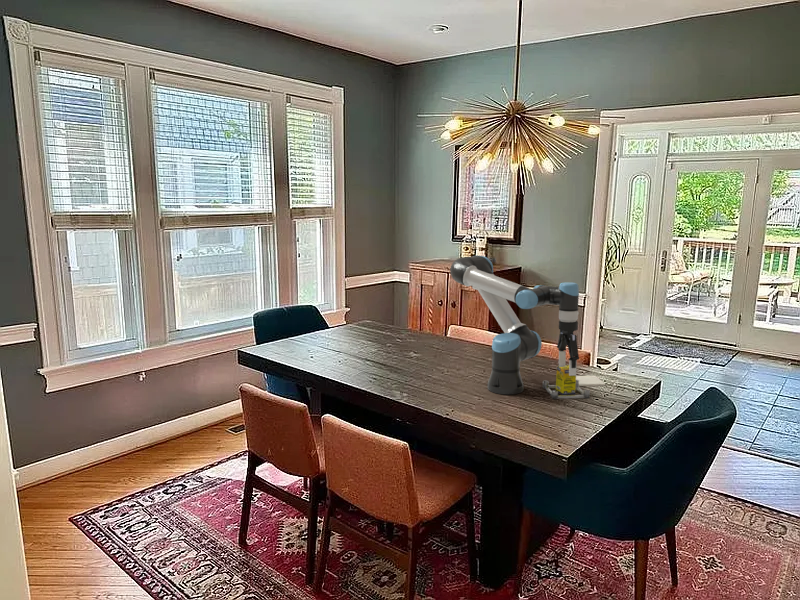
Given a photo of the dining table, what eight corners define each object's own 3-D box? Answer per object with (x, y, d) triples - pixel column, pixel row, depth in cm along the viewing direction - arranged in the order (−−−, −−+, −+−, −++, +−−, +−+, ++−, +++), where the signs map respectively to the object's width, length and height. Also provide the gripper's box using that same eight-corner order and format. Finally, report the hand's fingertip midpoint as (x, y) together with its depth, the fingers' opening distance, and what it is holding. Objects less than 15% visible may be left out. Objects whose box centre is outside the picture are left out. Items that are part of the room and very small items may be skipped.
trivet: (577, 386, 237) (577, 384, 237) (568, 377, 249) (568, 376, 249) (605, 385, 238) (605, 383, 237) (595, 377, 249) (595, 375, 249)
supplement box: (563, 395, 226) (564, 370, 224) (555, 391, 231) (556, 366, 230) (575, 394, 227) (576, 368, 225) (567, 389, 233) (568, 364, 231)
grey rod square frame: (552, 399, 222) (552, 392, 221) (542, 387, 237) (542, 380, 236) (590, 398, 222) (590, 391, 221) (577, 386, 237) (577, 379, 237)
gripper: (588, 326, 212) (586, 379, 215) (567, 314, 237) (566, 362, 240) (569, 326, 212) (567, 379, 215) (550, 315, 236) (549, 362, 240)
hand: (567, 370), depth 227 cm, fingers open, 13 cm apart
